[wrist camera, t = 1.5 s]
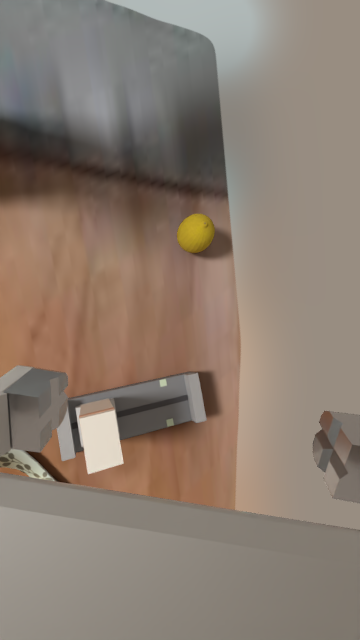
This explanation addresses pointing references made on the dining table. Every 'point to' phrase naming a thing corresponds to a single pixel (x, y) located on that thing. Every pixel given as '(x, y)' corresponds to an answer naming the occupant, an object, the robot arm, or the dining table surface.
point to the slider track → (139, 408)
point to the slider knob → (99, 434)
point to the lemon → (195, 233)
